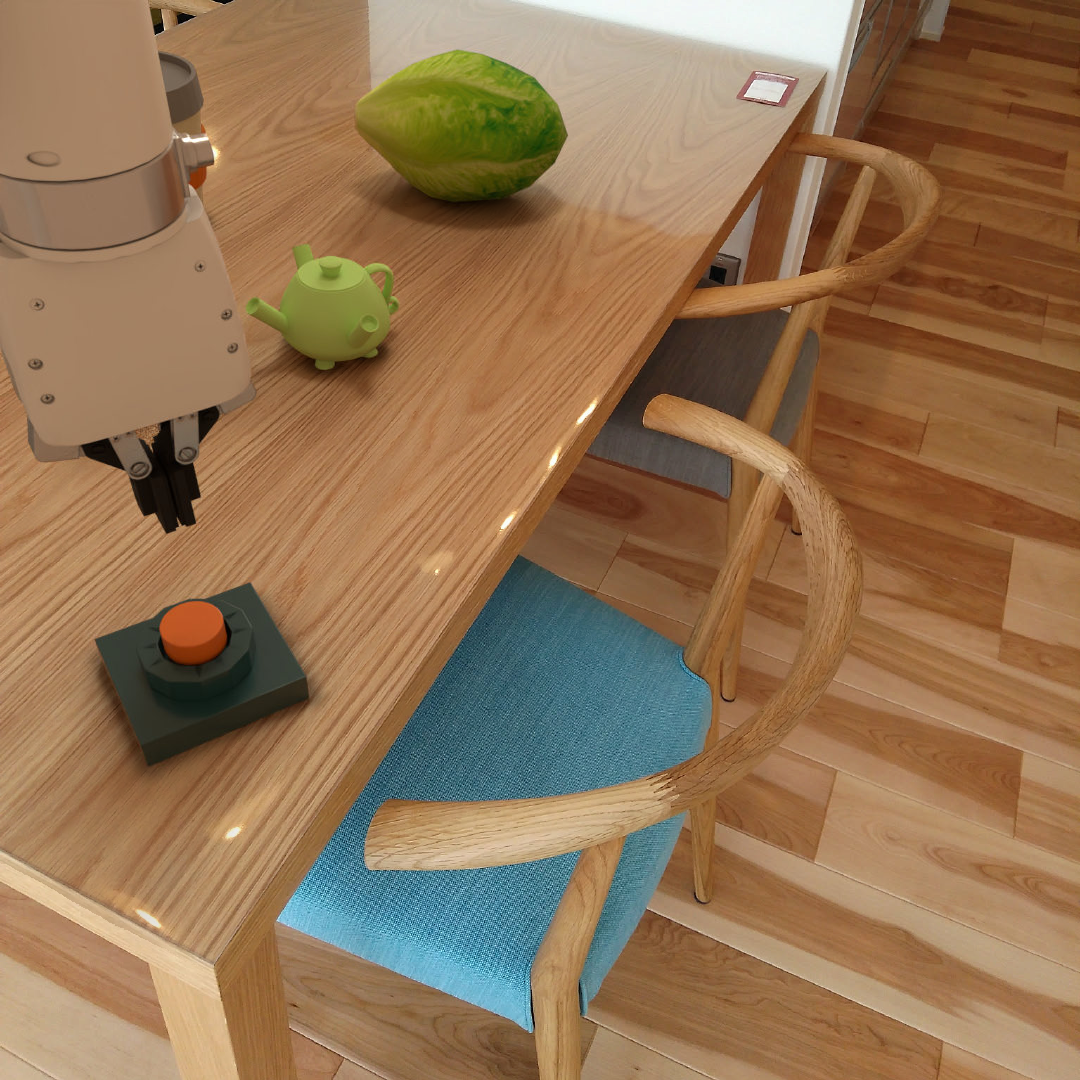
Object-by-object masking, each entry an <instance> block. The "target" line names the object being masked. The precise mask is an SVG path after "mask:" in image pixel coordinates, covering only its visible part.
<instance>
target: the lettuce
mask: <svg viewBox="0 0 1080 1080" xmlns="http://www.w3.org/2000/svg"><path fill="white" fill-rule="evenodd" d="M353 118H354V129H355V130H356V132H357V133H358V135H359V136H360V137H361V138H362V139H363V140H364V141H365V142H366V143H367V144H368V145H369V146H370V147H371V148H372V149H374V150H375V151H376V152H377V154H379V155H380V156H381V157H382V158H383V159H384V160H385V161H386V162H388V163H389V165H390V166H391V168H392V169H394V170H395V171H396V172H397V173H398V174H399V175H400V176H401V177H403V179H404V180H405V181H406V182H408V183H409V184H410V185H411V186H412V187H415V189H417V190H419V191H420V192H422V193H424V194H425V195H426V196H428V197H430V198H434V199H437V200H443V201H448V202H452V203H457V202H471V201H482V200H483V201H487V200H503V199H505V198H508V197H510V196H512V195H514V194H516V193H519V192H521V191H523V190H526V189H527V188H531V186H532V185H533V184H534V183H536V181H538V179H540V178H541V177H542V176H543V175H544V174H545V173H546V172H547V171H548V170H549V169H550V168H551V167H552V166H553V165H554V164H555V163H556V161H557V160H558V157H559V155H560V153H561V151H562V149H563V148H564V145H565V143H566V141H567V139H568V137H569V134H568V131H567V127H566V124H565V122H564V117H563V116H562V112H561V109H560V105H559V104H558V103H557V102H556V101H555V99H554V98H553V97H552V96H551V95H550V94H549V93H548V91H547V90H546V89H545V88H544V87H543V85H542V84H541V83H540V82H539V81H538V79H536V77H534V76H533V75H531V74H529V73H526V72H525V71H523V70H521V69H519V68H518V67H515V66H513V65H511V64H509V63H507V62H505V61H502V60H500V59H496V58H493V57H492V56H489V55H486V54H483V53H479V52H473V51H468V50H463V49H454V50H451V51H447V52H443V53H439V54H436V55H432V56H430V57H427V58H425V59H422V60H419V61H417V62H413V63H412V64H410V65H408V66H407V67H404V68H403V69H401V70H400V71H398V72H396V73H394V74H393V75H391V76H390V77H388V78H387V79H385V80H383V81H382V82H381V83H379V84H378V85H376V87H374V88H373V89H372V90H370V91H368V92H367V93H366V94H364V95H363V96H362V97H361V98H359V100H358V101H356V103H355V105H354V109H353Z"/></svg>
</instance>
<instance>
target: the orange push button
mask: <svg viewBox="0 0 1080 1080" xmlns="http://www.w3.org/2000/svg"><path fill="white" fill-rule="evenodd" d="M160 634H161V638H162V642H163V645H164V649H165V652H166V654H167V655H168V657H169V658H170V659H172V660H173V661H174V662H176V663H179V664H182V665H200V664H203V663H206V662H209V661H211V660H212V659H214V658H216V657H217V656H218V655H219V654H220V653H221V652H222V651H223V649H224V647H225V645H226V642H227V634H226V629H225V625H224V620H223V616H222V613H221V612H220V610H219V609H218V608H216V607H215V606H214V605H212V604H209V603H206V602H201V601H193V602H187V603H183V604H180V605H178V606H176V607H174V608H172V609H171V610H170V611H168V612H167V613H166V614H165V616H164V617H163V619H162V621H161V623H160Z"/></svg>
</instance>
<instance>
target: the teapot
mask: <svg viewBox="0 0 1080 1080" xmlns="http://www.w3.org/2000/svg"><path fill="white" fill-rule="evenodd" d="M291 249H292V254H293V257H294V261H295V264H296V265H295V266H296V268H297V271H296V272H295V273H294V274H293V276H292V278H291V279H290V281H289V282H288V284H287V286H286V287H285V290H284V291H283V294H282V297H281V300H280V303H279V309H278V310H277V309H276V308H274V307H273V306H272V305H270V304H268V303H267V302H265V301H264V300H263V299H260V298H259V297H258V296H253V297H251V298H250V299H249V300H248V301H247V303H246V305H245V313H246V314H247V315H250V316H251V317H253V318H254V319H256V320H258V321H260V322H261V323H264V324H265V325H267V326H269V327H271V328H273V330H276V331H278V332H280V334H281V336H282V337H283V339H284V341H286V342H287V343H288V345H290V346H291V347H292V348H294V349H295V350H296V351H297V352H298V353H301V354H302V355H303V356H306V357H308V358H311V359H314V360H315V362H314V366H315V368H317V369H318V370H323V371H325V370H330V369H333V368H334V367H335V366H336V365H335V364H336V363H335V362H345V361H351V360H355V359H358V358H361V357H362V358H374V357H375V356H377V355H378V352H379V351H378V350H377V348H378V346H379V345H380V344H382V343H383V341H384V340H385V339H386V337H387V336H388V334H389V332H390V328H391V315H394V314H395V313H397V312H398V311H399V309H400V301H399V299H398V298H397V297H396V296H393V295H392V294H393V293H392V292H393V290H394V289H393V288H394V285H395V284H394V283H395V282H394V281H395V277H394V273H393V271H392V269H391V268H390V267H389V266H388V265H386V264H384V263H381V262H374V263H370V264H367V265H366V266H365V267H363V266H362V265H360V264H359V263H357V261H356V262H355V261H354V260H351V259H349V258H344V257H339V256H335V255H327V256H322V257H318V258H314V255H313V252H312V249H311V246H310V244H309V243H304V244H300V245H295V246H294V247H292V248H291ZM377 273H384V274H385V279H384V285H383V289H382V291H381V289H380V287H379V285H377V283H376V282H375V280H374V279H373V277H372V276H371V275H373V274H377Z"/></svg>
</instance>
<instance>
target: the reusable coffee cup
mask: <svg viewBox="0 0 1080 1080" xmlns="http://www.w3.org/2000/svg"><path fill="white" fill-rule="evenodd" d="M158 55H159V60H160V65H161V71H162V76H163V81H164V86H165V92H166V97H167V102H168V107H169V112H170V118H171V123H172V127H174V129H175V130H176V131H177V132H178V133H179V134H181V133H187V134H188V135H189V136H190V135H196V134H201V133H205V134H206V135H207V133H206V128H205V126H204V124H203V123H202V110H201V109H202V108H203V106H204V102H205V100H204V99H205V98H204V95H203V91H202V88H201V83H200V80H199V76H198V73H197V70H196V67H195V65H194V64H193V63H192V62H191V61H190V60H188V59H186V58H184V57H182V56H180V55H177V54H175V53H172V52H168V51H161V50H158ZM207 167H208V166H207ZM207 167H202V168H198V172H196V173H191V176H190V182H188V184H189V185H191V186H192V187H193V188H194V190H195V191H196V193H197V195H198V197H199V198H200V200H201V202H202V204H203V205H204V185H203V184H204V183H205V181H206V180H207V175H208V172H207Z"/></svg>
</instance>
